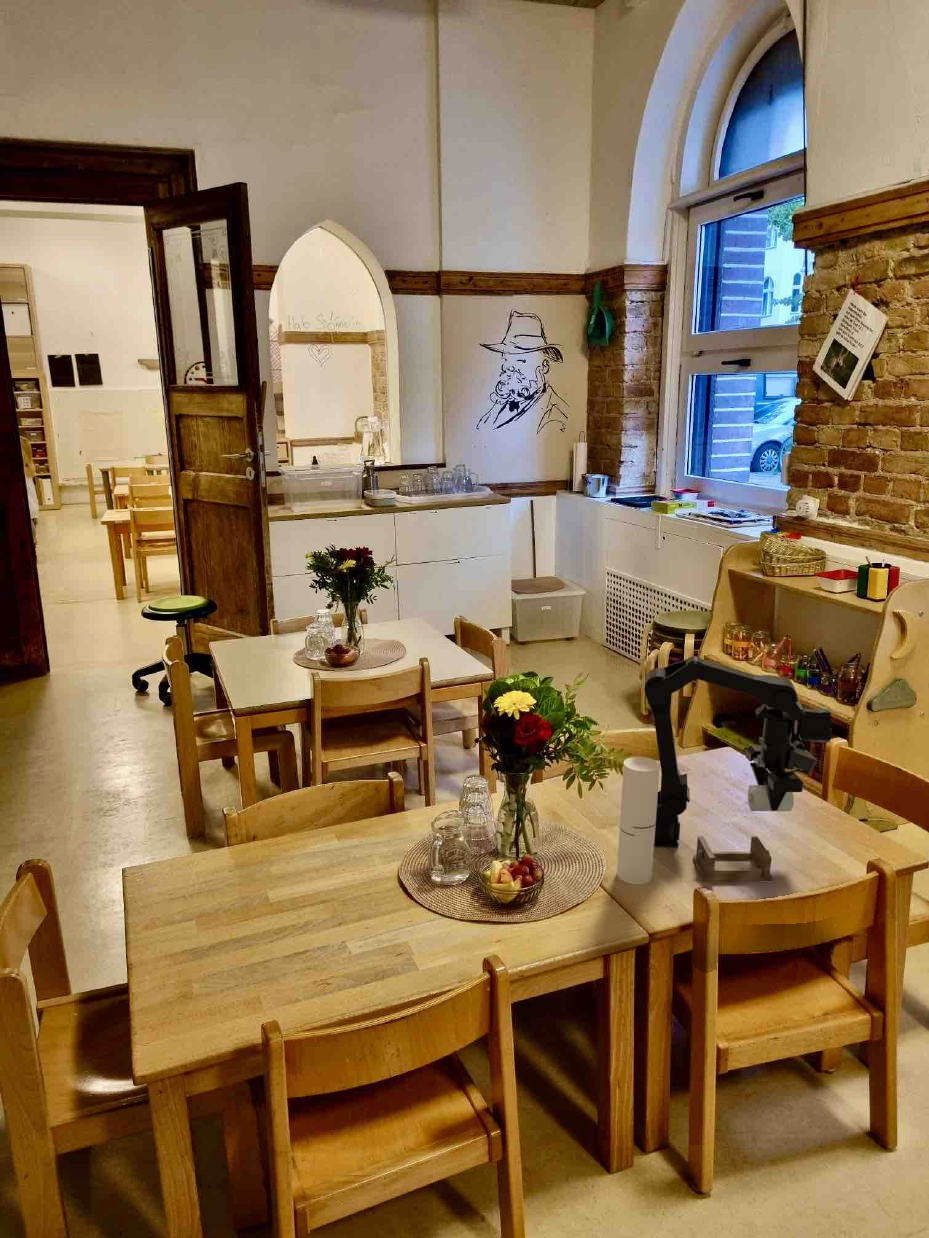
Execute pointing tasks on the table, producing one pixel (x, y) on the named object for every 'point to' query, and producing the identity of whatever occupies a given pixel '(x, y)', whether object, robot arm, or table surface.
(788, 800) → the roll
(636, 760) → the cylindrical container
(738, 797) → the table surface
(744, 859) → the holder
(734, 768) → the table surface
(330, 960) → the table surface
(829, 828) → the table surface
